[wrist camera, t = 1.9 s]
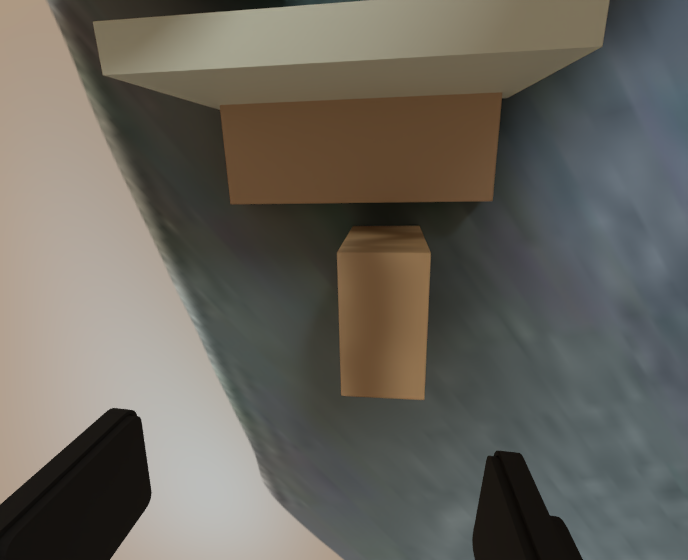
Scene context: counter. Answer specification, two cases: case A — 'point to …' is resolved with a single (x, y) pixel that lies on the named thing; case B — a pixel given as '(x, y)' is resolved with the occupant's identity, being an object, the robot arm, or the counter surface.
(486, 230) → the counter surface
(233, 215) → the counter surface
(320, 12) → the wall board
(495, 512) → the robot arm
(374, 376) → the oak box
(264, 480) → the counter surface
